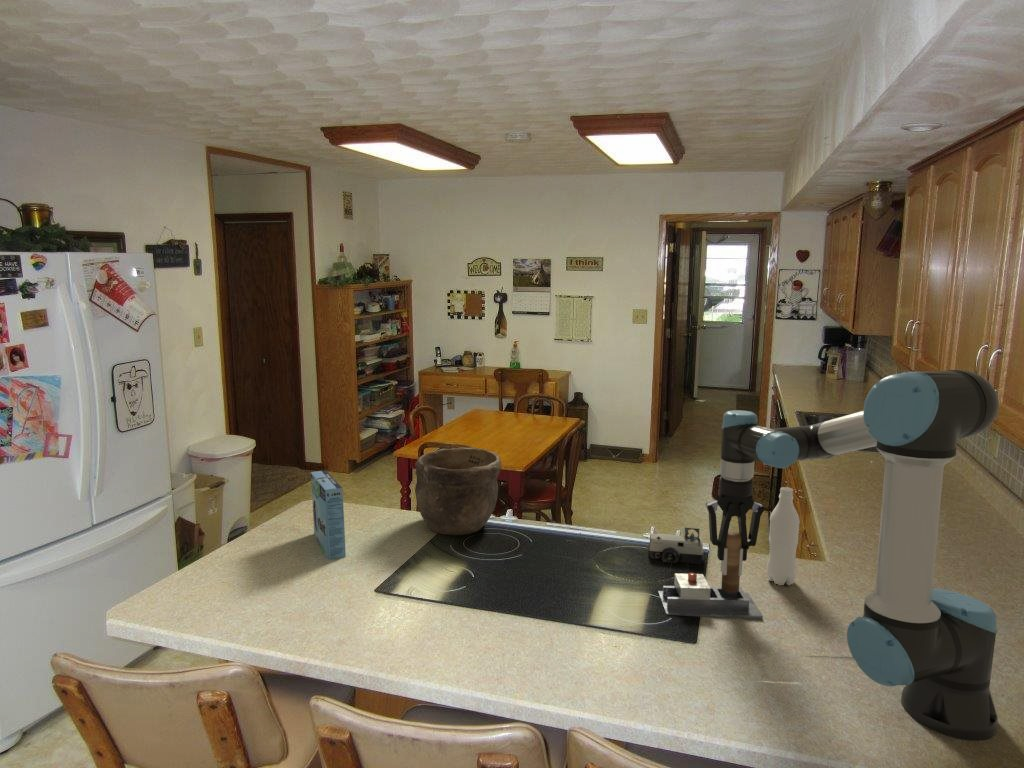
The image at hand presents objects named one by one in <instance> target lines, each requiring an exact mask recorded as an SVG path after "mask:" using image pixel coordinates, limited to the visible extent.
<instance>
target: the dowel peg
mask: <svg viewBox="0 0 1024 768" xmlns="http://www.w3.org/2000/svg"><path fill="white" fill-rule="evenodd" d="M741 544H742V535H741V534H740V532H739V531H736V530H728V535H727V540H726V544H725V548H727V549H728V550H727V575H723V573H722V572H721V574H722V575H721V586H720V587H721V589H722V590H723V591H724V592H726V593H738V592H739V587H740V578H741V577H740V576H741V575H739V561H740V549H741Z"/></svg>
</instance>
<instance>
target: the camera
mask: <svg viewBox="0 0 1024 768" xmlns="http://www.w3.org/2000/svg"><path fill="white" fill-rule="evenodd" d="M690 530H694V531H695V532H696V534H697V536H695V534H694V532H693V531H692V532H691V534H689V531H690ZM704 553H705V550H704V548H703V539H702V537H701V536H700V527H695V526H694V527H693V526H685V527H684V535H679V534H669V533H665V534H664V533H658V532H651V533H650V534H649V546H648V557H649V558H650V559H653V560H661V561H662V563H663V562H665V563H673V564H678V563H685V562H687V564H695V565H702V561H703V557H704V556H703V555H704Z"/></svg>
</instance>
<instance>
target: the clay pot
mask: <svg viewBox="0 0 1024 768" xmlns="http://www.w3.org/2000/svg"><path fill="white" fill-rule="evenodd" d="M414 465H415V475H416V477H417V480H416V484H415V487H414V493H415V499H416V505H417V508H418V510H419V513H420V515H421V517H422V519H423V521H424V522H425V524H426V526H427V527H428V528H429V529H430V530H431V531H432V532H435V533H437V534H441V535H446V536H447V535H448V536H465V535H469V534H474V533H476V532H479V531H480V530H481V529H482V528H483V527H484V526H485V525H486V524H487V523H488V521H489V519H490V518H491V516H492V515H493V513H494V511H495V508H496V505H497V501H498V493H499V484H498V481H497V480H498V477H499V475H500V474H501V468H502V461H501V457H500V456H499V455H498V454H497V453H494V452H493V451H490V450H488V449H482V448H478V447H458V448H456V447H455V448H454V447H452V448H440V449H437V450H434V451H431V452H427V453H425V454H423V455H420V456H419V458H417V460H416V462H415V463H414Z"/></svg>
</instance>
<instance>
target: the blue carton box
mask: <svg viewBox="0 0 1024 768" xmlns="http://www.w3.org/2000/svg"><path fill="white" fill-rule="evenodd" d="M310 482H311V483H310V484H311V499H312V502H311V503H312V516H313V517H312V518H313V534H314V537H315V538H316V541H317V543H318V545H319V547H320V549H321V551H322V552H323V554H324V556H325V557H326V558H327V560H334V559H342V558H346V556H347V554H346V533H345V532H346V531H345V513H344V512H345V511H344V510H345V509H344V493H343V487H342V486H341V485H340V484H339V482H338V481H337V480H336V479H335V478H334V477H333V476H332V475H331V474H330V473H329V472H328V470H318V471H310Z"/></svg>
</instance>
